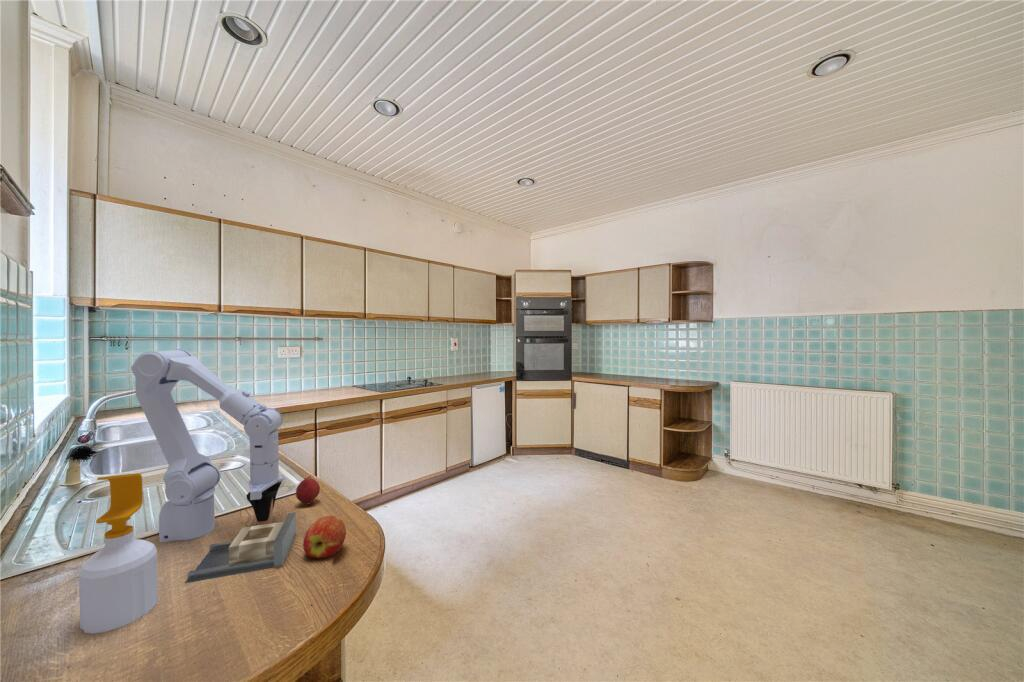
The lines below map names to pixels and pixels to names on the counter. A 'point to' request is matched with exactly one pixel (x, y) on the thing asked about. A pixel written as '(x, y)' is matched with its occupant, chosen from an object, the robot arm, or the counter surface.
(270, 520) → the dowel
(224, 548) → the slide base
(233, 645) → the counter surface
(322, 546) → the apple
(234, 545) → the sliding block
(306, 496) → the onion
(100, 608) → the soap bottle
